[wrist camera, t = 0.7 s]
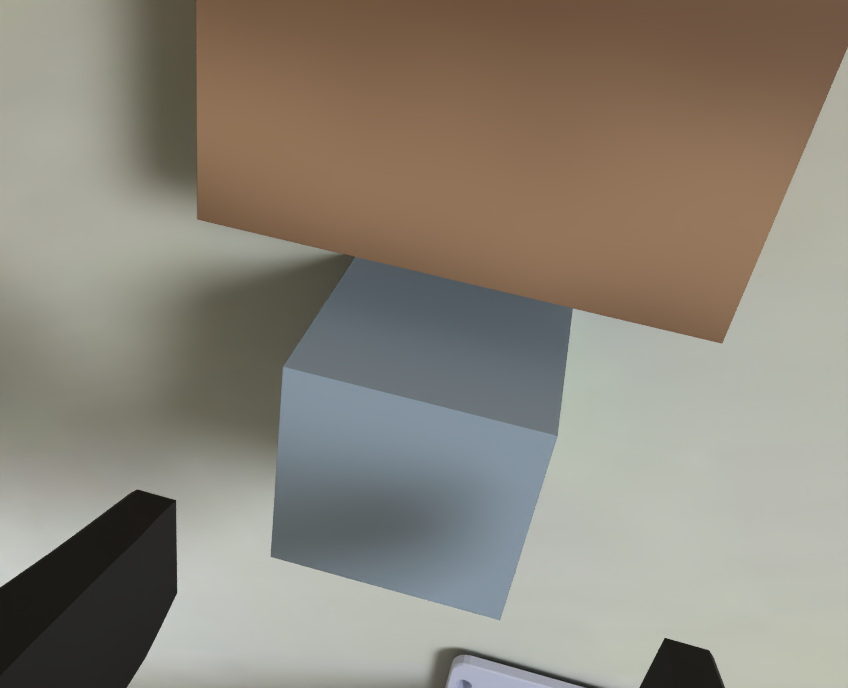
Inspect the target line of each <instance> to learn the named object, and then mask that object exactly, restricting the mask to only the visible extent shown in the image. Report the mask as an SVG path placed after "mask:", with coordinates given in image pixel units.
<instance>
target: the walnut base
mask: <svg viewBox="0 0 848 688" xmlns="http://www.w3.org/2000/svg"><path fill="white" fill-rule="evenodd" d="M847 47H848V0H196V73H197V219H198V220H202V221H206V222H210V223H215V224H219V225H223V226H227V227H232V228H236V229H240V230H244V231H248V232H253V233H257V234H261V235H265V236H270V237H274V238H278V239H282V240H287V241H291V242H295V243H299V244H303V245H308V246H312V247H316V248H320V249H325V250H329V251H333V252H337V253H342V254H346V255H350V256H354V257H358V258H363V259H367V260H371V261H375V262H380V263H384V264H388V265H392V266H397V267H401V268H405V269H409V270H413V271H418V272H422V273H426V274H430V275H435V276H439V277H443V278H447V279H452V280H456V281H460V282H464V283H468V284H473V285H477V286H481V287H485V288H490V289H494V290H498V291H502V292H506V293H511V294H515V295H519V296H523V297H528V298H532V299H536V300H540V301H545V302H549V303H553V304H557V305H561V306H566V307H570V308H574V309H578V310H583V311H587V312H591V313H595V314H600V315H604V316H608V317H612V318H616V319H621V320H625V321H629V322H633V323H638V324H642V325H646V326H650V327H655V328H659V329H663V330H667V331H671V332H676V333H680V334H684V335H688V336H693V337H697V338H701V339H705V340H710V341H714V342H718V343H723V340H724V338H725V335H726V333H727V331H728V328H729V326H730V324H731V321H732V319H733V317H734V314H735V312H736V310H737V307H738V305H739V302H740V300H741V298H742V295H743V293H744V291H745V288H746V286H747V284H748V281H749V279H750V276H751V274H752V272H753V269H754V267H755V265H756V262H757V260H758V258H759V255H760V253H761V250H762V248H763V246H764V243H765V241H766V239H767V236H768V234H769V232H770V229H771V227H772V224H773V222H774V220H775V217H776V215H777V213H778V210H779V208H780V206H781V203H782V201H783V199H784V196H785V194H786V191H787V189H788V187H789V184H790V182H791V180H792V177H793V175H794V173H795V170H796V168H797V165H798V163H799V161H800V158H801V156H802V154H803V151H804V149H805V147H806V144H807V142H808V139H809V137H810V135H811V132H812V130H813V128H814V125H815V123H816V121H817V118H818V116H819V113H820V111H821V109H822V106H823V104H824V102H825V99H826V97H827V95H828V92H829V90H830V88H831V85H832V83H833V80H834V78H835V76H836V73H837V71H838V69H839V66H840V64H841V62H842V59H843V57H844V54H845V52H846V50H847Z"/></svg>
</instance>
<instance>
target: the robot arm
mask: <svg viewBox="0 0 848 688" xmlns="http://www.w3.org/2000/svg"><path fill="white" fill-rule="evenodd" d="M176 594H177V546H176V500H173V499H169V498H166V497H162V496H158V495H155V494H151V493H148V492H144V491H141V490H135V491H134V492H132V493H130V494H129V495H127V496H126V497H125V498H123V499H122V500H121V501H119V502H118V503H117V504H115V505H114V506H113V507H111V508H110V509H109V510H107V511H106V512H105V513H103V514H102V515H101V516H99V517H98V518H97V519H95V520H94V521H93V522H91V523H90V524H89V525H87V526H86V527H85V528H83V529H82V530H81V531H79V532H78V533H76V534H75V535H74V536H72V537H71V538H70V539H68V540H67V541H66V542H64V543H63V544H61V545H60V546H59V547H57V548H56V549H55V550H53V551H52V552H50V553H49V554H48V555H46V556H45V557H43V558H42V559H40V560H39V561H38V562H36V563H35V564H33V565H32V566H30V567H29V568H28V569H26V570H25V571H23V572H22V573H20V574H19V575H18V576H16V577H15V578H13V579H12V580H10V581H9V582H8V583H6V584H5V585H3V586H2V587H0V688H127V686H128V685H129V683H130V681H131V680H132V678H133V677H134V675H135V674H136V672H137V670H138V669H139V667H140V665H141V664H142V662H143V661H144V659H145V657H146V655H147V653H148V651H149V650H150V648H151V646H152V644H153V642H154V640H155V638H156V636H157V634H158V632H159V630H160V628H161V626H162V623H163V621H164V619H165V617H166V615H167V613H168V611H169V609H170V607H171V605H172V602H173V600H174V598H175V596H176ZM445 688H585V687H581V686H578V685H574V684H571V683H567V682H563V681H560V680H556V679H553V678H549V677H546V676H542V675H539V674H535V673H532V672H528V671H524V670H521V669H517V668H514V667H510V666H507V665H503V664H500V663H496V662H492V661H489V660H485V659H482V658H478V657H475V656H471V655H459V656H457V657H455V658H454V660H453V661H452V665H451V669H450V672H449V676H448V679H447V683H446V687H445ZM640 688H725V687H724V684H723V681H722V679H721V676H720V673H719V671H718V668H717V665H716V663H715V660H714V658H713V656H712V654H711V653H710V651H709V650H706V649H702V648H699V647H695V646H692V645H688V644H685V643H681V642H677V641H674V640H670V639H667V638H665V639H664V641H663V643H662V644H661V646H660V648H659V650H658V652H657V654H656V656H655V658H654V660H653V662H652V664H651V666H650V668H649V670H648V672H647V674H646V676H645V678H644V680H643V682H642V684H641V686H640Z"/></svg>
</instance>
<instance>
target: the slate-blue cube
mask: <svg viewBox="0 0 848 688" xmlns="http://www.w3.org/2000/svg"><path fill="white" fill-rule="evenodd" d="M572 310H573V308H570V307H566V306H561V305H557V304H553V303H549V302H545V301H540V300H536V299H532V298H528V297H523V296H519V295H515V294H511V293H506V292H502V291H498V290H494V289H490V288H485V287H481V286H477V285H473V284H468V283H464V282H460V281H456V280H452V279H447V278H443V277H439V276H435V275H430V274H426V273H422V272H418V271H413V270H409V269H405V268H401V267H397V266H392V265H388V264H384V263H380V262H375V261H371V260H367V259H363V258H358V257H355V258H354V260H353V261H352V263H351V264H350V266H349V267H348V269H347V270H346V272H345V273H344V275H343V276H342V278H341V279H340V281H339V282H338V284H337V285H336V287H335V288H334V290H333V291H332V293H331V294H330V296H329V298H328V299H327V301H326V302H325V304H324V305H323V307H322V308H321V310H320V311H319V313H318V314H317V316H316V317H315V319H314V320H313V322H312V323H311V325H310V326H309V328H308V329H307V331H306V332H305V334H304V335H303V337H302V339H301V340H300V342H299V343H298V345H297V346H296V348H295V349H294V351H293V352H292V354H291V355H290V357H289V358H288V360H287V361H286V363H285V364H284V366H283V374H282V390H281V405H280V421H279V436H278V452H277V467H276V483H275V498H274V514H273V529H272V545H271V557H273V558H277V559H281V560H284V561H288V562H292V563H295V564H299V565H302V566H306V567H310V568H313V569H317V570H320V571H324V572H328V573H331V574H335V575H339V576H342V577H346V578H349V579H353V580H357V581H360V582H364V583H367V584H371V585H375V586H378V587H382V588H385V589H389V590H393V591H396V592H400V593H404V594H407V595H411V596H414V597H418V598H422V599H425V600H429V601H432V602H436V603H440V604H443V605H447V606H451V607H454V608H458V609H461V610H465V611H469V612H472V613H476V614H479V615H483V616H487V617H490V618H494V619H497V620H500V619H501V616H502V612H503V609H504V606H505V603H506V599H507V596H508V593H509V590H510V587H511V583H512V580H513V577H514V574H515V571H516V567H517V564H518V561H519V558H520V555H521V551H522V548H523V545H524V542H525V538H526V535H527V532H528V529H529V526H530V522H531V519H532V516H533V513H534V510H535V506H536V503H537V500H538V497H539V493H540V490H541V487H542V484H543V481H544V477H545V474H546V471H547V468H548V465H549V461H550V458H551V455H552V452H553V449H554V445H555V442H556V439H557V435H558V427H559V419H560V410H561V402H562V393H563V385H564V377H565V368H566V360H567V352H568V343H569V335H570V326H571V318H572Z"/></svg>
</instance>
